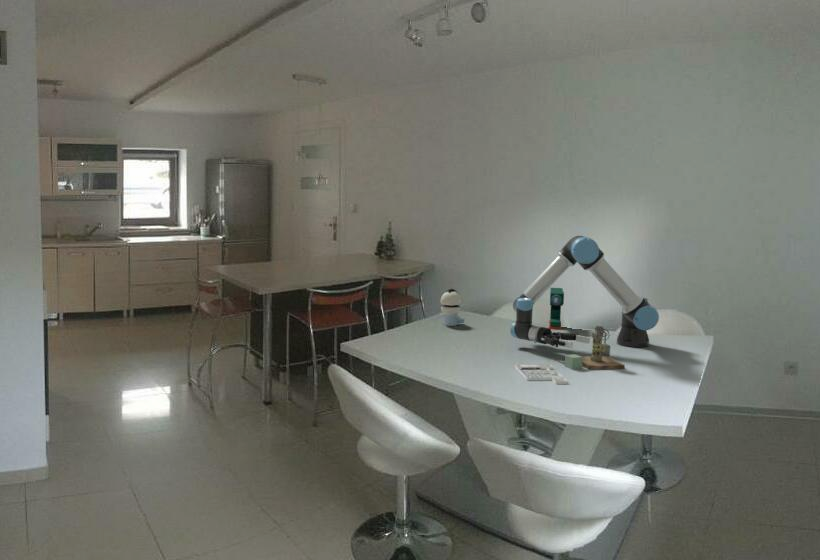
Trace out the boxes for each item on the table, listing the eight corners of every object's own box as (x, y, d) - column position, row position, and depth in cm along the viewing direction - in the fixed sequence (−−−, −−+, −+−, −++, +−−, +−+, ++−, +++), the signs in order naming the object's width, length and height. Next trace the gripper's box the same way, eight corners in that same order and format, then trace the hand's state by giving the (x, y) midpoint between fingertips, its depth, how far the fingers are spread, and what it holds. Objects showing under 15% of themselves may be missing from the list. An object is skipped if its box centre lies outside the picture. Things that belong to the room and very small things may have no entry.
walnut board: (608, 359, 303) (608, 355, 303) (624, 368, 288) (624, 365, 287) (574, 360, 301) (574, 356, 301) (588, 369, 285) (588, 366, 285)
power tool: (562, 334, 354) (564, 296, 351) (548, 333, 355) (550, 296, 353) (561, 323, 385) (563, 288, 382) (549, 322, 386) (550, 287, 384)
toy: (469, 325, 375) (470, 289, 373) (454, 328, 366) (455, 291, 364) (447, 320, 386) (448, 286, 384) (432, 323, 377) (433, 288, 374)
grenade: (588, 358, 298) (590, 325, 296) (603, 358, 298) (605, 325, 296) (594, 363, 290) (596, 328, 288) (609, 362, 291) (611, 328, 289)
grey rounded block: (606, 354, 313) (606, 343, 312) (612, 357, 307) (612, 346, 306) (593, 354, 312) (594, 344, 311) (599, 357, 306) (599, 347, 305)
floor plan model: (550, 368, 289) (550, 363, 289) (569, 385, 264) (569, 380, 264) (514, 368, 287) (515, 364, 287) (530, 385, 263) (530, 380, 263)
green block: (574, 365, 292) (575, 354, 291) (581, 368, 287) (582, 356, 287) (564, 366, 290) (565, 355, 289) (572, 369, 285) (572, 357, 285)
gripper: (555, 339, 324) (595, 346, 309) (524, 346, 307) (564, 355, 292) (556, 323, 323) (596, 330, 308) (524, 330, 306) (565, 338, 291)
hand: (580, 342), depth 300 cm, fingers open, 13 cm apart
